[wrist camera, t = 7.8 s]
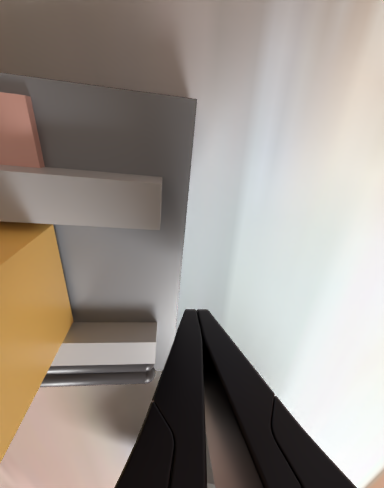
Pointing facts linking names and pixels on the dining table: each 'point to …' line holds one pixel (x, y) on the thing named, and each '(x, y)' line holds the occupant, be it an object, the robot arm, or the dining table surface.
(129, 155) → the panel
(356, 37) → the dining table surface
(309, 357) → the dining table surface
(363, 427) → the dining table surface
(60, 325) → the toggle
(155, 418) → the robot arm
